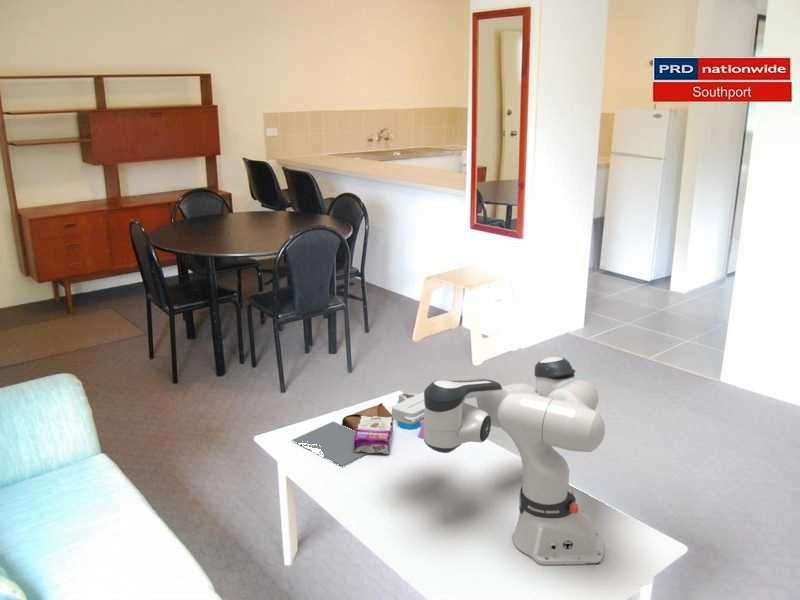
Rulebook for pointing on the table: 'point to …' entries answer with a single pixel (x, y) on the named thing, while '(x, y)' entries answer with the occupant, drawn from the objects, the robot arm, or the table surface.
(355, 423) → the sunglasses case
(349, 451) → the mat
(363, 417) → the candy bar box
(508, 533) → the table surface
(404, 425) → the mug
